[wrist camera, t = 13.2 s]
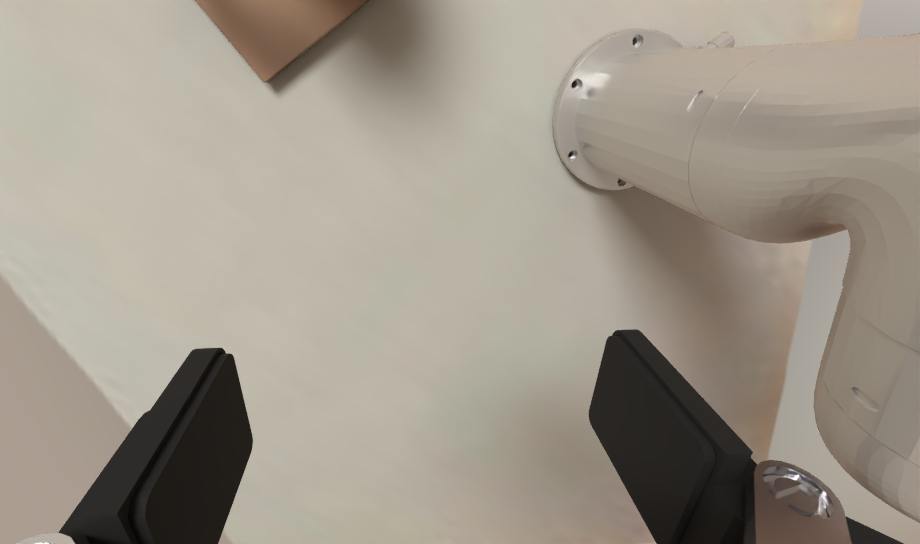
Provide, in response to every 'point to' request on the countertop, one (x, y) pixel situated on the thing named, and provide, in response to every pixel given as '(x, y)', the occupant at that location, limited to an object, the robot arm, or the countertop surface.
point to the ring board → (276, 28)
